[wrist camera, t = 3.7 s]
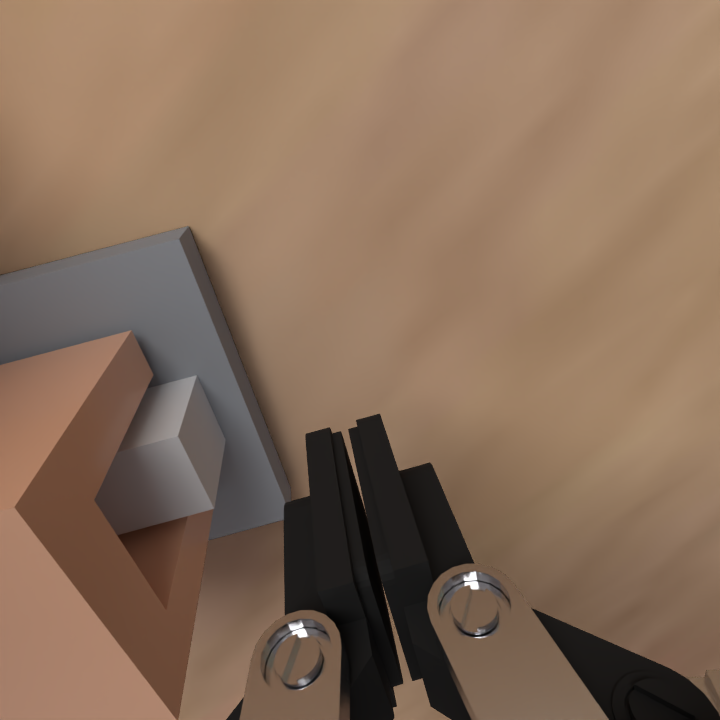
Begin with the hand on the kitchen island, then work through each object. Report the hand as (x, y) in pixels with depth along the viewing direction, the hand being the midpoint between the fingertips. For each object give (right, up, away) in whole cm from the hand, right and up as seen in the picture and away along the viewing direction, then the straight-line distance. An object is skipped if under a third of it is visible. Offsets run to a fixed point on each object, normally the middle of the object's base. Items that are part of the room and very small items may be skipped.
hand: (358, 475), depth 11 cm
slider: (-8, 0, +4) cm, 9 cm away
